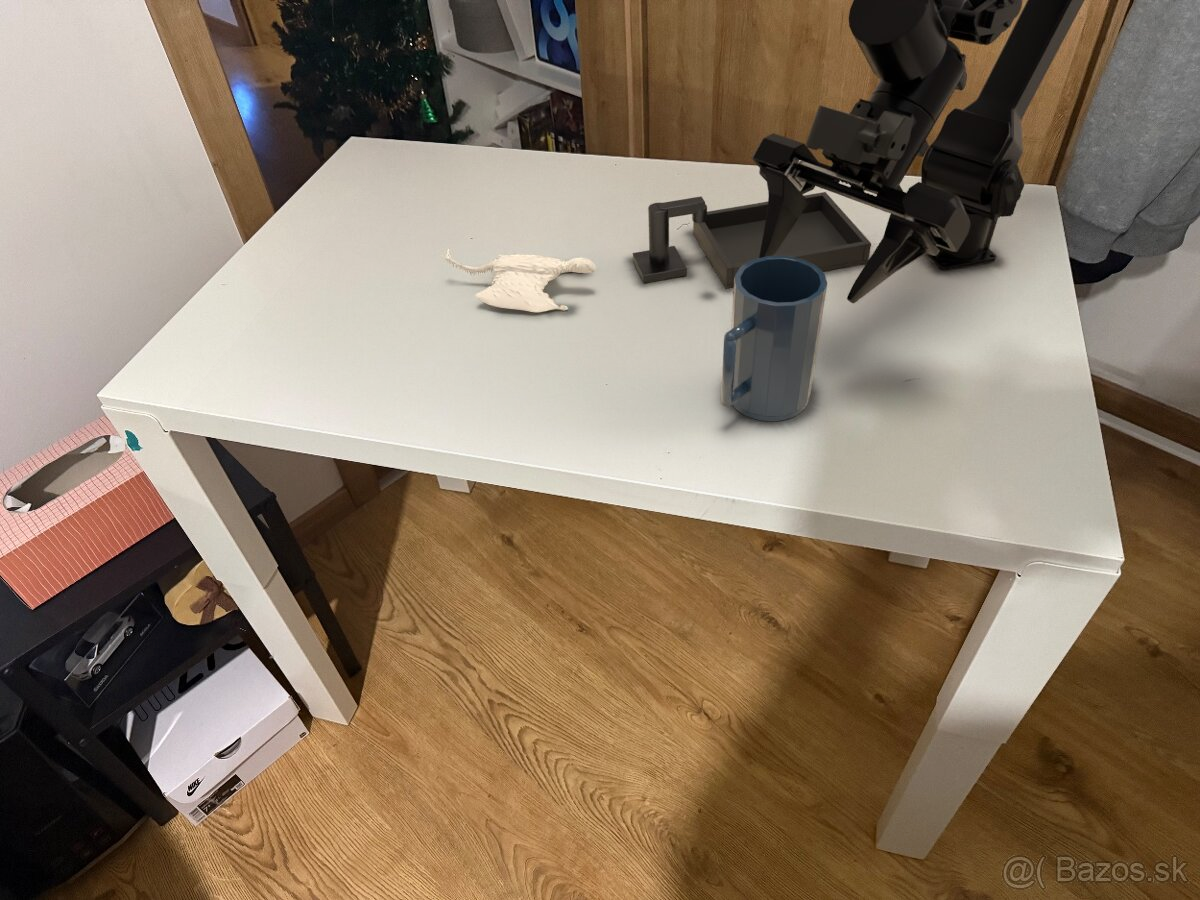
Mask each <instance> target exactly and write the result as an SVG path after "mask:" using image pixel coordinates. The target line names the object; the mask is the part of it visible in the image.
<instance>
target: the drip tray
mask: <svg viewBox="0 0 1200 900" xmlns="http://www.w3.org/2000/svg"><path fill="white" fill-rule="evenodd" d="M803 196H804V197H805V198H806V199H807V200H808V201H809V203H808V205H807V206H806V208H805V209H804V211H803V212H802V214H801V215H800V217H799V218H798V220H797V221H796V223H795V225H794V226H793V228H792V229H791V231H790V232H789V234H788V235H787V237H786V238H785V240H784V241H783V243H782V244H781V246H780V248H779V249H778V251H777V252H776V253H775V254H774V256H789V257H795V258H800V259H803V260H805V261H808V262H810V263H812V264H814V265H816V266H817V267H818V268H819V269H820V270H821V271H822V272H827V271H831V270H837V269H843V268H849V267H853V266H855V267H856V266H859V265H866V263H867V262H868V260H869V259H870V253H871V247H872V242H871V241H870V240H869V238H868V237H866V235H864V234H863V232H862V231H861V230H860V229H859V228H858V226H857V225H856V224H855V223H854V222H853V221H852V220H851V219H850V218H849V216H848V215H847V214H846V213H845V212H844V211H843V209H841V208H840V206H838V204H837V203H836V201H834V199H833V198H832V197H831V196H830V195H829V194H828V193H827V192H826V191H823V192H817V193H809V194H803ZM767 210H768V201H762V202H757V203H752V204H745V205H740V206H732V207H726V208H721V209H715V210H707V220H706V221H705V222H703V223H695V222H693V221H692V222H693V223H692V225H693V226H692V233H693V236H694V237H695V238H696V240H697V243H698V244H699V246H700V247H701V249H702V250H703V253H704V255H706V257H707V259H708V261H709V263H710V264H711V265H712V268H713V269H714V270H715V272H716V274H717V276H718V278H719V279H720V281H721V282H722V284H723V286H724V287H725V289H730V288H734V277H735V275H736V273H737V272H738V270H739V268H740V267H742V266H743V265H745V264H746V263H748V262H749V261H751V260H755V259H758V258H759V255H760V249H761V244H762V238H763V233H764V228H765V222H766V217H767Z"/></svg>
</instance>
